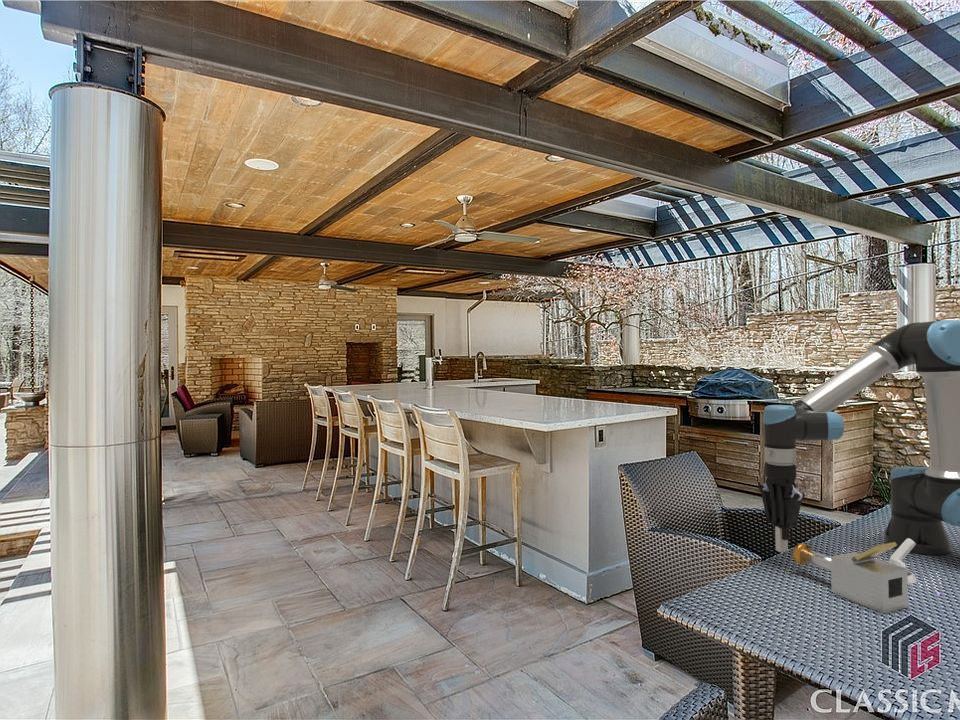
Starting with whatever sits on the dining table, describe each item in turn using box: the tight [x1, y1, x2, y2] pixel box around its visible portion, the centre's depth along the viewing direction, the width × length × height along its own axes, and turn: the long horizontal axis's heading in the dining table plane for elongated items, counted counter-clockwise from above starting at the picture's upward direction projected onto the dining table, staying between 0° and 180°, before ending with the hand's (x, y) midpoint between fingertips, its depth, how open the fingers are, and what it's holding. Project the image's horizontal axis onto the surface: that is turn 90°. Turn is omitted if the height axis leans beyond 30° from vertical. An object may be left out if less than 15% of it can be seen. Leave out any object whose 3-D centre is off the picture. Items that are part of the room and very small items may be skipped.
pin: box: [792, 542, 832, 572], centre depth 140 cm, size 5×12×5 cm, turn 20°
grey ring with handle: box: [887, 538, 918, 585], centre depth 141 cm, size 8×12×7 cm
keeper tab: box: [852, 542, 897, 562], centre depth 127 cm, size 6×8×1 cm
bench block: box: [830, 551, 909, 614], centre depth 129 cm, size 8×12×8 cm, turn 20°
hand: (781, 550), depth 151 cm, fingers closed
